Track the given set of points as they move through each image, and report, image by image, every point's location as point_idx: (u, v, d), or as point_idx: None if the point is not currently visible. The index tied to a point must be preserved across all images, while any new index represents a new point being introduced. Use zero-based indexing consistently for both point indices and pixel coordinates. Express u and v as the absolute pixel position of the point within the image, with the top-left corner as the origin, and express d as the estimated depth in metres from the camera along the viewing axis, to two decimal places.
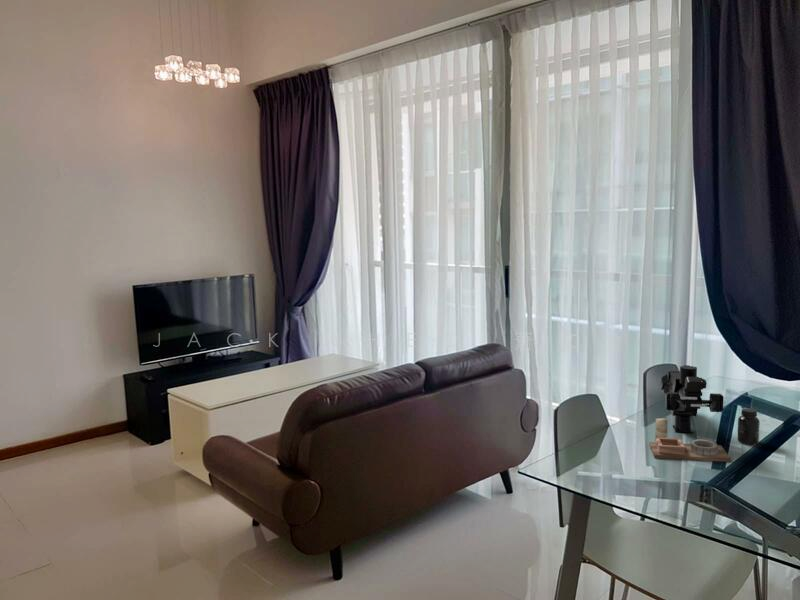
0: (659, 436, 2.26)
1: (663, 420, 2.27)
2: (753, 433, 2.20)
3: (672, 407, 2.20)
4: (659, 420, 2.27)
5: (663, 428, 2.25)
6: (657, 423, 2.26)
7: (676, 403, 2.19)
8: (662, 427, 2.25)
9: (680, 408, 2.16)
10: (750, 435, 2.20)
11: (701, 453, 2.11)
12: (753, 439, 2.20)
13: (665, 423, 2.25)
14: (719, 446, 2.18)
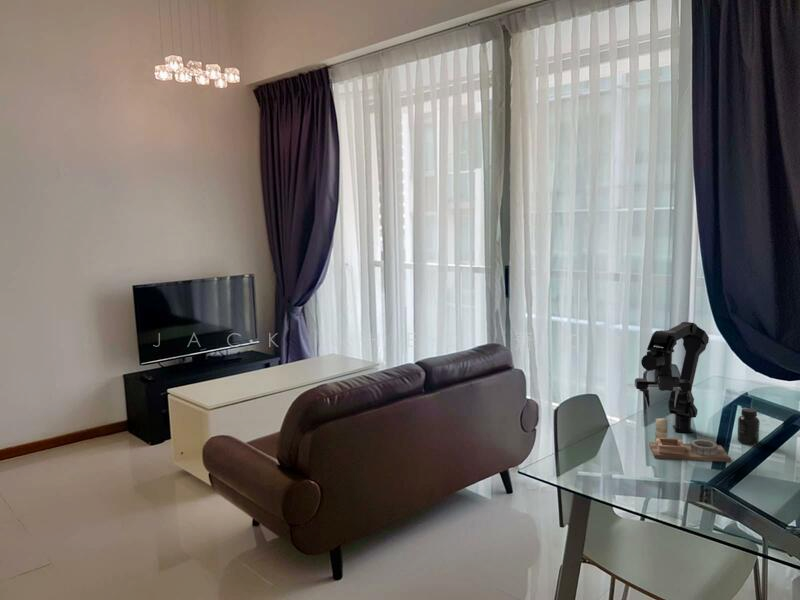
0: (659, 436, 2.26)
1: (663, 420, 2.27)
2: (753, 433, 2.20)
3: None
4: (659, 420, 2.27)
5: (663, 428, 2.25)
6: (657, 423, 2.26)
7: None
8: (662, 427, 2.25)
9: None
10: (750, 435, 2.20)
11: (701, 453, 2.11)
12: (753, 439, 2.20)
13: (665, 423, 2.25)
14: (719, 446, 2.18)
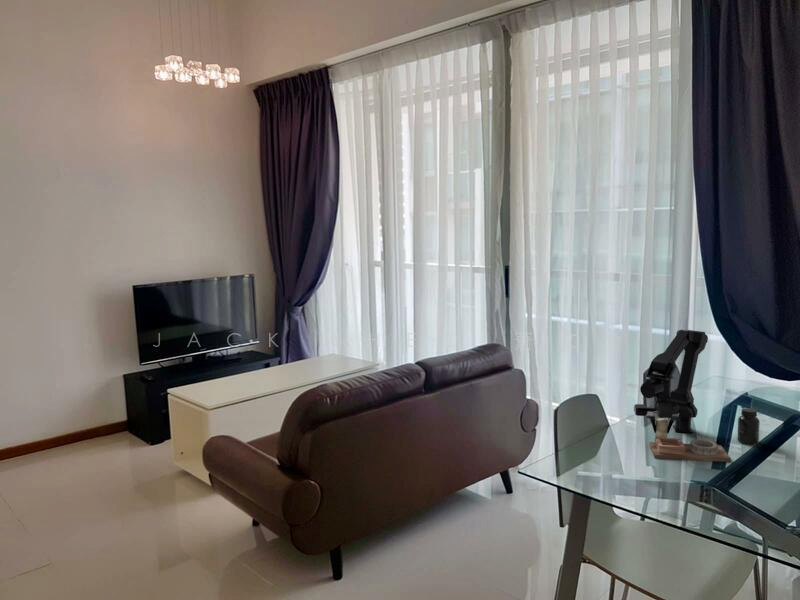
0: (659, 436, 2.26)
1: (663, 420, 2.27)
2: (753, 433, 2.20)
3: None
4: (659, 420, 2.27)
5: (663, 428, 2.25)
6: (657, 423, 2.26)
7: None
8: (662, 427, 2.25)
9: (652, 425, 2.29)
10: (750, 435, 2.20)
11: (701, 453, 2.11)
12: (753, 438, 2.20)
13: (665, 423, 2.25)
14: (719, 446, 2.18)
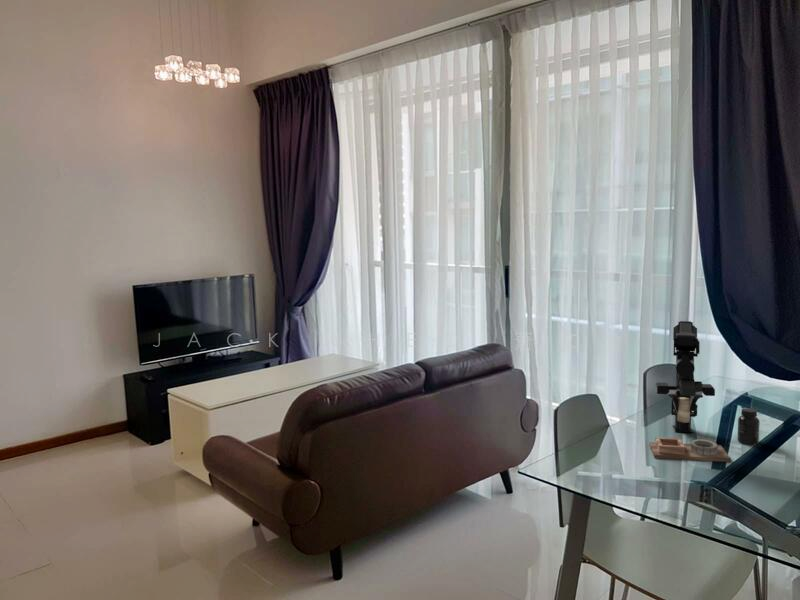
0: (681, 416, 2.18)
1: (685, 399, 2.18)
2: (753, 433, 2.20)
3: None
4: (681, 399, 2.18)
5: (686, 407, 2.17)
6: (679, 402, 2.18)
7: None
8: (684, 406, 2.17)
9: (674, 404, 2.20)
10: (750, 435, 2.20)
11: (701, 453, 2.11)
12: (753, 438, 2.20)
13: (688, 402, 2.17)
14: (719, 446, 2.18)
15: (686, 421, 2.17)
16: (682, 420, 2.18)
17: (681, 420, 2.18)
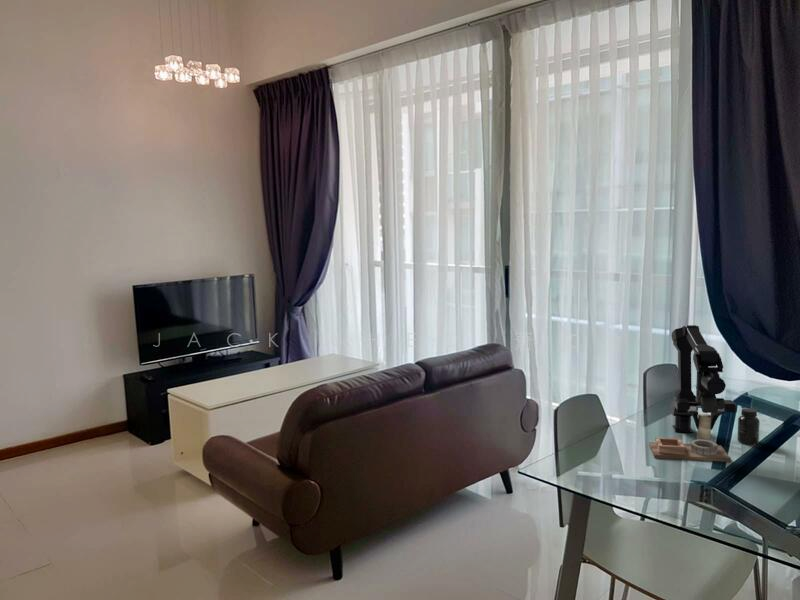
0: (702, 433, 2.12)
1: (706, 415, 2.12)
2: (753, 433, 2.20)
3: None
4: (702, 415, 2.13)
5: (707, 424, 2.11)
6: (700, 418, 2.12)
7: None
8: (705, 422, 2.11)
9: (694, 420, 2.15)
10: (750, 435, 2.20)
11: (701, 453, 2.11)
12: (753, 439, 2.20)
13: (709, 418, 2.11)
14: (719, 446, 2.18)
15: (707, 438, 2.12)
16: (703, 437, 2.12)
17: (702, 437, 2.12)
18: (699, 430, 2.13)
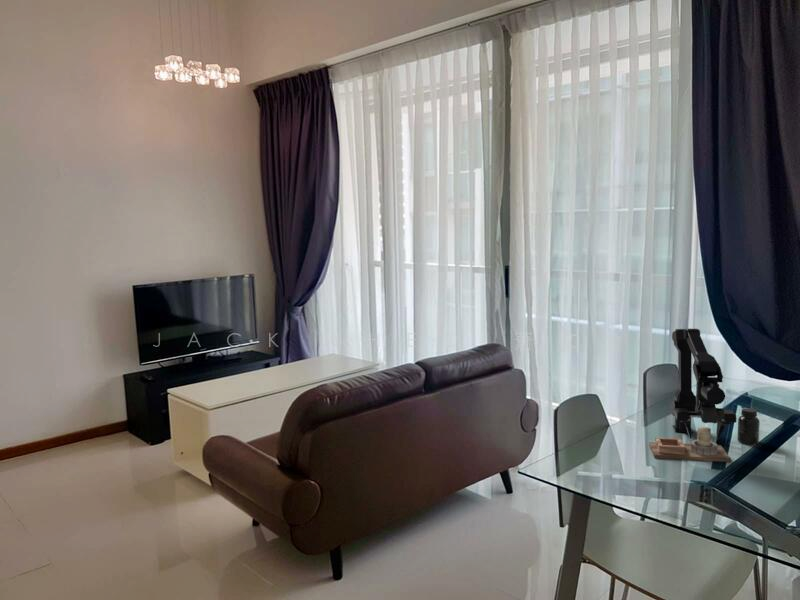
0: (702, 446, 2.13)
1: (706, 429, 2.13)
2: (753, 433, 2.20)
3: None
4: (702, 428, 2.13)
5: (707, 437, 2.12)
6: (700, 432, 2.13)
7: None
8: (705, 436, 2.12)
9: (687, 430, 2.16)
10: (750, 435, 2.20)
11: (701, 453, 2.11)
12: (753, 438, 2.20)
13: (708, 432, 2.12)
14: (719, 446, 2.18)
15: None
16: None
17: None
18: (699, 443, 2.14)
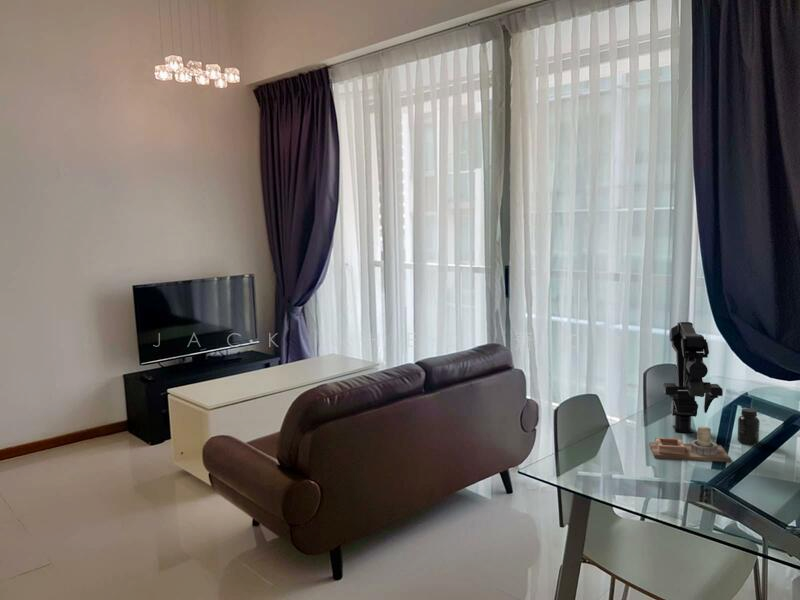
0: (702, 446, 2.13)
1: (706, 429, 2.13)
2: (753, 433, 2.20)
3: None
4: (702, 429, 2.13)
5: (707, 437, 2.12)
6: (700, 432, 2.13)
7: None
8: (705, 436, 2.12)
9: (674, 404, 2.22)
10: (750, 435, 2.20)
11: (701, 453, 2.11)
12: (753, 439, 2.20)
13: (708, 432, 2.12)
14: (719, 446, 2.18)
15: None
16: None
17: None
18: (699, 443, 2.14)
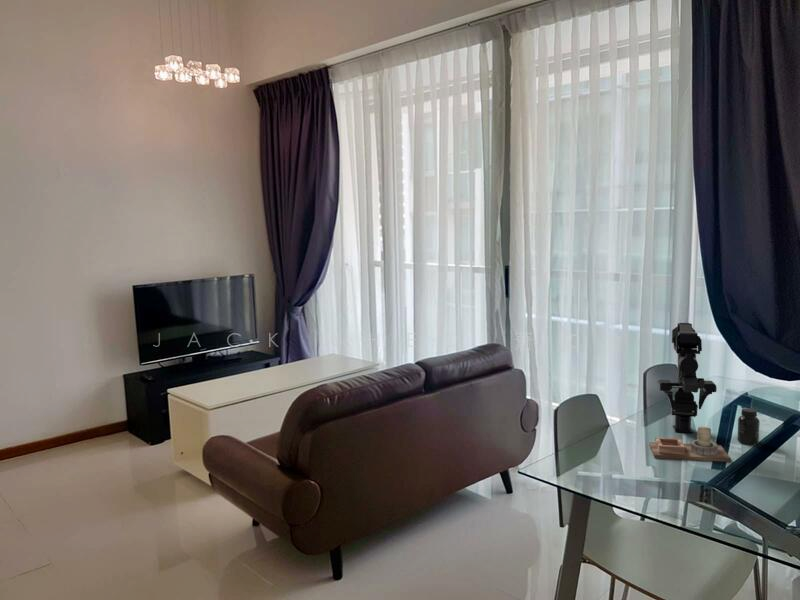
0: (702, 446, 2.13)
1: (706, 429, 2.13)
2: (753, 433, 2.20)
3: None
4: (702, 428, 2.13)
5: (707, 437, 2.12)
6: (700, 432, 2.13)
7: None
8: (705, 435, 2.12)
9: (669, 400, 2.25)
10: (750, 435, 2.20)
11: (701, 453, 2.11)
12: (753, 439, 2.20)
13: (708, 432, 2.12)
14: (719, 446, 2.18)
15: None
16: None
17: None
18: (699, 443, 2.14)
